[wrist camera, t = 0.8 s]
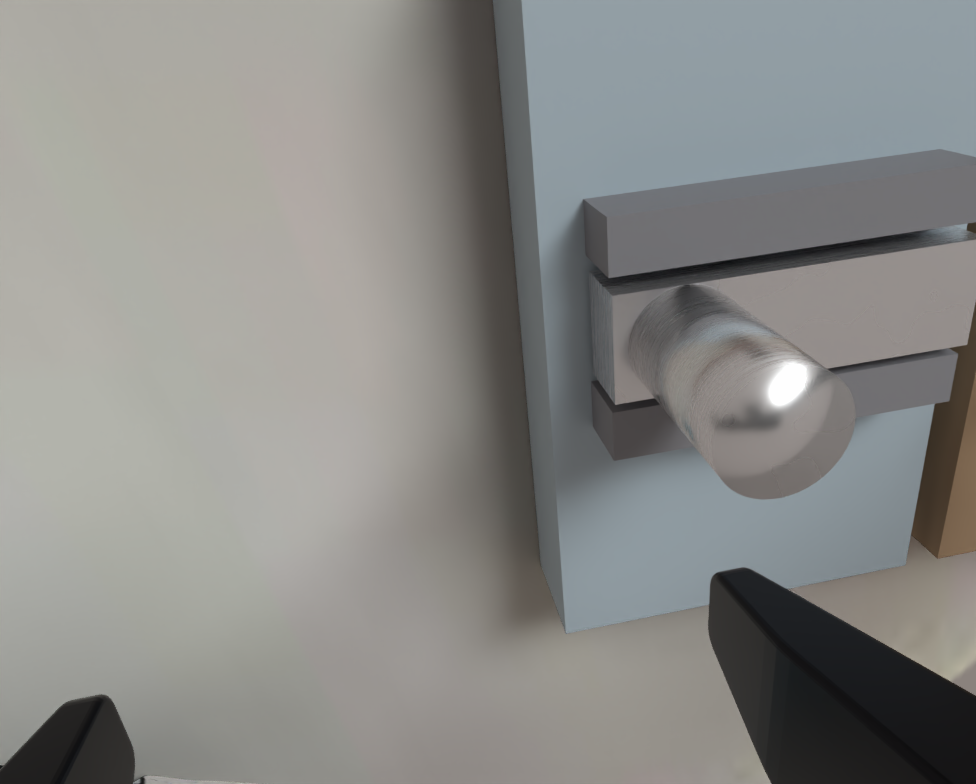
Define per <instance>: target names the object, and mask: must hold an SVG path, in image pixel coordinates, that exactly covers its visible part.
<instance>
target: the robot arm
mask: <svg viewBox="0 0 976 784" xmlns="http://www.w3.org/2000/svg"><path fill="white" fill-rule="evenodd" d="M708 630H709V636H710V641H711V644H712V647H713V649H714V652H715V654H716V657H717V659H718V661H719V664H720V666H721V669H722V671H723V673H724V676H725V678H726V680H727V683H728V685H729V688H730V690H731V692H732V695H733V697H734V699H735V702H736V704H737V707H738V709H739V711H740V714H741V716H742V719H743V721H744V723H745V726H746V728H747V730H748V733H749V735H750V738H751V740H752V742H753V745H754V747H755V749H756V752H757V754H758V756H759V758H760V761H761V763H762V765H763V767H764V770H765V772H766V774H767V776H768V778H769V779H770V781H771V783H772V784H976V696H975V695H973V694H972V693H970V692H968V691H966V690H964V689H963V688H961V687H959V686H957V685H956V684H954V683H952V682H950V681H949V680H947V679H945V678H943V677H941V676H940V675H938V674H936V673H934V672H933V671H931V670H929V669H927V668H926V667H924V666H922V665H920V664H919V663H917V662H915V661H913V660H911V659H910V658H908V657H906V656H904V655H903V654H901V653H899V652H897V651H896V650H894V649H892V648H890V647H888V646H887V645H885V644H883V643H881V642H880V641H878V640H876V639H874V638H873V637H871V636H869V635H867V634H865V633H864V632H862V631H860V630H858V629H857V628H855V627H853V626H851V625H850V624H848V623H846V622H844V621H843V620H841V619H839V618H837V617H835V616H834V615H832V614H830V613H828V612H827V611H825V610H823V609H821V608H820V607H818V606H816V605H814V604H812V603H811V602H809V601H807V600H805V599H804V598H802V597H800V596H798V595H797V594H795V593H793V592H791V591H789V590H788V589H786V588H784V587H782V586H781V585H779V584H777V583H775V582H774V581H772V580H770V579H768V578H766V577H765V576H763V575H761V574H759V573H758V572H756V571H754V570H752V569H750V568H746V567H741V568H736V569H731V570H726V571H721V572H717V573H715V574H714V575H713V576H712V578H711V581H710V596H709V620H708ZM134 771H135V757H134V750H133V746H132V744H131V741H130V739H129V737H128V734H127V732H126V730H125V728H124V725H123V723H122V721H121V718H120V716H119V714H118V712H117V709H116V707H115V705H114V703H113V701H112V700H111V699H110V698H109V697H108V696H106V695H95V696H90V697H85V698H80V699H75V700H71V701H68V702H66V703H64V704H63V705H62V706H61V707H59V708H58V709H57V710H56V711H55V712H54V714H53V715H52V716H51V717H50V718H49V719H48V720H47V721H46V722H45V723H44V724H43V725H42V726H41V727H40V728H39V729H38V730H37V731H36V732H35V733H34V734H33V735H32V737H31V738H30V739H29V740H28V741H27V742H26V743H25V744H24V745H23V746H22V747H21V748H20V749H19V750H18V751H17V752H16V753H15V754H14V755H13V756H12V757H11V759H10V760H9V761H8V762H7V763H6V764H5V765H4V766H3V767H2V768H1V769H0V784H133V780H134Z"/></svg>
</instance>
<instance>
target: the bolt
mask: <svg viewBox="0 0 976 784" xmlns="http://www.w3.org/2000/svg"><path fill="white" fill-rule="evenodd" d="M589 287H590V311H591V336H592V360H593V374H594V375H595V377H596V378H597V380H598V381H599V382H600V384H601V385H602V387H603V388H604V390H605V391H606V392H607V394H608V395H609V397H610V398H611V400H612V401H613V402H614V404H615V405H617V404H623V403H629V402H635V401H640V400H646V399H652V398H655V399H656V400H657V402H658V403H659V404H660V405H661V406H662V408H663V409H664V410H665V411H666V413H667V414H668V415H669V416H670V417H671V419H672V420H673V421H674V422H675V424H676V425H677V426H678V427H679V428H680V430H681V431H682V432H683V433H684V435H685V436H686V437H687V438H688V439H689V441H690V442H691V443H692V444H693V446H694V447H695V448H696V449H697V450H698V452H699V453H700V454H701V455H702V457H703V458H704V459H705V460H706V462H707V463H708V464H709V465H710V466H711V468H712V469H713V470H714V471H715V473H716V474H717V475H718V476H719V477H720V479H721V480H722V481H723V482H724V483H725V485H726V486H728V487H729V488H730V489H731V490H733V491H734V492H736V493H738V494H740V495H742V496H745V497H749V498H753V499H761V500H764V499H777V498H782V497H786V496H790V495H792V494H795V493H798V492H800V491H802V490H804V489H806V488H808V487H809V486H811V485H813V484H814V483H816V482H817V481H818V480H820V479H821V478H822V477H824V476H825V475H826V474H827V473H828V472H829V471H830V470H831V469H832V468H833V467H834V466H835V465H836V463H837V462H838V461H839V460H840V458H841V457H842V455H843V454H844V452H845V450H846V449H847V447H848V445H849V442H850V440H851V437H852V434H853V431H854V426H855V419H856V411H855V404H854V399H853V397H852V394H851V392H850V390H849V389H848V387H847V385H846V384H845V383H844V382H843V381H842V380H841V379H840V378H839V377H838V376H836V375H835V374H834V373H832V372H831V371H829V370H828V368H834V367H840V366H846V365H852V364H857V363H863V362H869V361H875V360H881V359H887V358H893V357H898V356H904V355H910V354H916V353H922V352H928V351H934V350H939V349H945V348H951V347H957V346H963V345H967V343H968V338H969V333H970V328H971V322H972V317H973V312H974V307H975V302H976V233H973V232H970V231H967V230H964V229H961V228H959V227H956V226H948V227H941V228H935V229H928V230H922V231H915V232H908V233H902V234H895V235H889V236H882V237H876V238H869V239H862V240H856V241H849V242H843V243H836V244H830V245H823V246H816V247H810V248H803V249H797V250H790V251H784V252H777V253H770V254H764V255H757V256H751V257H744V258H738V259H731V260H725V261H718V262H711V263H705V264H698V265H692V266H685V267H679V268H672V269H665V270H659V271H652V272H646V273H639V274H633V275H626V276H619V277H613V278H608V277H607V276H606V275H605V274H604V273H603V272H602V271H601V270H597V271H590V272H589Z"/></svg>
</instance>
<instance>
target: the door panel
mask: <svg viewBox="0 0 976 784" xmlns="http://www.w3.org/2000/svg"><path fill="white" fill-rule="evenodd" d="M493 10H494V21H495V33H496V45H497V57H498V68H499V80H500V92H501V104H502V115H503V127H504V139H505V151H506V162H507V174H508V186H509V198H510V209H511V221H512V233H513V245H514V257H515V268H516V280H517V292H518V304H519V315H520V327H521V339H522V351H523V362H524V374H525V386H526V398H527V409H528V421H529V433H530V445H531V456H532V468H533V480H534V492H535V503H536V515H537V527H538V539H539V550H540V562H541V567H542V569H543V572H544V575H545V578H546V580H547V583H548V586H549V589H550V591H551V594H552V597H553V600H554V602H555V605H556V608H557V611H558V613H559V616H560V619H561V622H562V624H563V627H564V630H565V633H566V634H567V633H572V632H577V631H582V630H587V629H592V628H597V627H602V626H607V625H612V624H616V623H621V622H626V621H631V620H636V619H641V618H646V617H651V616H656V615H661V614H666V613H671V612H676V611H681V610H686V609H691V608H696V607H701V606H706V605H709V596H710V581H711V578H712V576H713V575H714V574H715V573H717V572H721V571H726V570H731V569H736V568H741V567H746V568H750V569H752V570H754V571H756V572H758V573H759V574H761V575H763V576H765V577H766V578H768V579H770V580H772V581H774V582H775V583H777V584H779V585H781V586H782V587H784V588H786V589H790V588H795V587H800V586H805V585H810V584H815V583H819V582H824V581H829V580H834V579H839V578H844V577H849V576H854V575H859V574H864V573H869V572H874V571H879V570H884V569H889V568H894V567H899V566H904V565H906V559H907V554H908V548H909V543H910V537H911V532H912V526H913V521H914V515H915V510H916V504H917V499H918V493H919V488H920V482H921V477H922V471H923V466H924V460H925V455H926V449H927V444H928V438H929V433H930V427H931V422H932V416H933V411H934V405H935V404H936V403H942V402H947V401H949V400H950V395H951V389H952V384H953V379H954V374H955V368H956V363H957V358H958V353H956V352H954V351H953V350H951V349H949V348H945V349H939V350H934V351H928V352H922V353H916V354H910V355H904V356H898V357H893V358H887V359H881V360H875V361H869V362H863V363H857V364H852V365H846V366H840V367H834V368H828V370H829V371H831V372H832V373H834V374H835V375H836V376H838V377H839V378H840V379H841V380H842V381H843V382H844V383H845V384H846V385H847V387H848V389H849V390H850V392H851V394H852V397H853V399H854V404H855V411H856V419H855V426H854V431H853V434H852V437H851V440H850V442H849V445H848V447H847V449H846V450H845V452H844V454H843V455H842V457H841V458H840V460H839V461H838V462H837V463H836V465H835V466H834V467H833V468H832V469H831V470H830V471H829V472H828V473H827V474H826V475H825V476H824V477H822V478H821V479H820V480H818V481H817V482H816V483H814V484H813V485H811V486H809V487H808V488H806V489H804V490H802V491H800V492H798V493H795V494H792V495H790V496H786V497H782V498H777V499H764V500H761V499H753V498H749V497H745V496H742V495H740V494H738V493H736V492H734V491H733V490H731V489H730V488H729V487H728V486H726V485H725V483H724V482H723V481H722V480H721V479H720V477H719V476H718V475H717V474H716V473H715V471H714V470H713V469H712V468H711V466H710V465H709V464H708V463H707V462H706V460H705V459H704V458H703V457H702V455H701V454H700V453H699V452H698V450H697V449H696V448H695V447H694V446H693V444H692V443H691V442H690V441H689V439H688V438H687V437H686V436H685V435H684V433H683V432H682V431H681V430H680V428H679V427H678V426H677V425H676V424H675V422H674V421H673V420H672V419H671V417H670V416H669V415H668V414H667V413H666V411H665V410H664V409H663V408H662V406H661V405H660V404H659V403H658V402H657V400H656V399H655V398H652V399H646V400H640V401H635V402H629V403H623V404H617V405H615V404H614V402H613V401H612V400H611V398H610V397H609V395H608V394H607V392H606V391H605V390H604V388H603V387H602V385H601V384H600V382H599V381H598V380H597V378H596V377H595V375H594V374H593V360H592V336H591V311H590V287H589V272H590V271H597V270H601V271H602V272H603V273H604V274H605V275H606V276H607V277H608V278H613V277H619V276H626V275H633V274H639V273H646V272H652V271H659V270H665V269H672V268H679V267H685V266H692V265H698V264H705V263H711V262H718V261H725V260H731V259H738V258H744V257H751V256H757V255H764V254H770V253H777V252H784V251H790V250H797V249H803V248H810V247H816V246H823V245H830V244H836V243H843V242H849V241H856V240H862V239H869V238H876V237H882V236H889V235H895V234H902V233H908V232H915V231H922V230H928V229H935V228H941V227H948V226H956V227H959V228H961V229H964V230H967V224H968V223H974V222H976V0H493Z"/></svg>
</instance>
